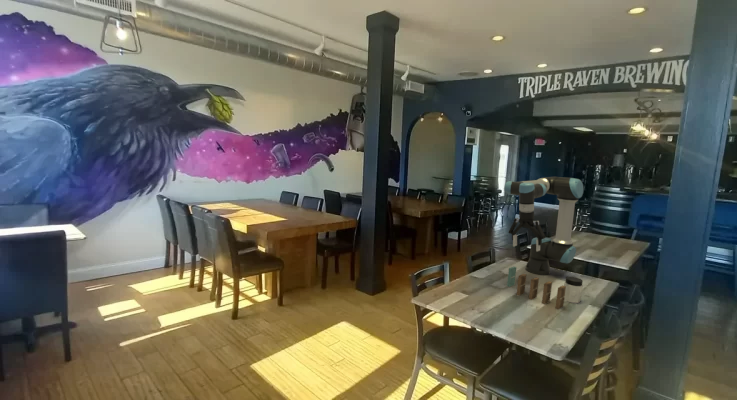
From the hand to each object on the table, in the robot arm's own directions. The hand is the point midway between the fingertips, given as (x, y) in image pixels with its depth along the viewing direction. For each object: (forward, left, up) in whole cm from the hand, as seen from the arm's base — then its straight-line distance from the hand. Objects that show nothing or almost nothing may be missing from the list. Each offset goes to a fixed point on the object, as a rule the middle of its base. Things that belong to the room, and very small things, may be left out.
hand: (526, 248), depth 204 cm
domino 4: (+2, +22, -26) cm, 34 cm away
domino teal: (-6, -9, -26) cm, 28 cm away
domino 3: (+2, +15, -26) cm, 30 cm away
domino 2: (+2, +8, -26) cm, 27 cm away
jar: (-14, +22, -26) cm, 37 cm away
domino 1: (+2, +1, -26) cm, 26 cm away
